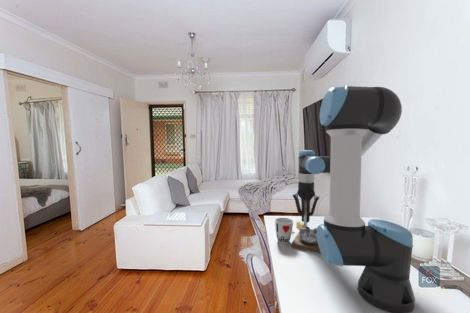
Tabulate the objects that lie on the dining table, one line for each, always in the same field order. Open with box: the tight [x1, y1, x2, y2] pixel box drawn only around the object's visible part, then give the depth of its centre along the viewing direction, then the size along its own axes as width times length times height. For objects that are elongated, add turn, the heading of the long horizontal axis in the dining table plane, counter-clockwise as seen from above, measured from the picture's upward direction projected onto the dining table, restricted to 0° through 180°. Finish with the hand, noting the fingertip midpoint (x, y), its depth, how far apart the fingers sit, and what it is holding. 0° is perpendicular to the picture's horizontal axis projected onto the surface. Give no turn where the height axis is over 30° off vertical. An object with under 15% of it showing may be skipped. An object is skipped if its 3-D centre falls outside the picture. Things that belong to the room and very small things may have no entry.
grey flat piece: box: [296, 221, 318, 246], centre depth 114 cm, size 20×11×4 cm, turn 10°
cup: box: [274, 217, 294, 245], centre depth 112 cm, size 8×8×10 cm
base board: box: [291, 232, 321, 255], centre depth 110 cm, size 14×14×2 cm
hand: (305, 228), depth 120 cm, fingers closed
